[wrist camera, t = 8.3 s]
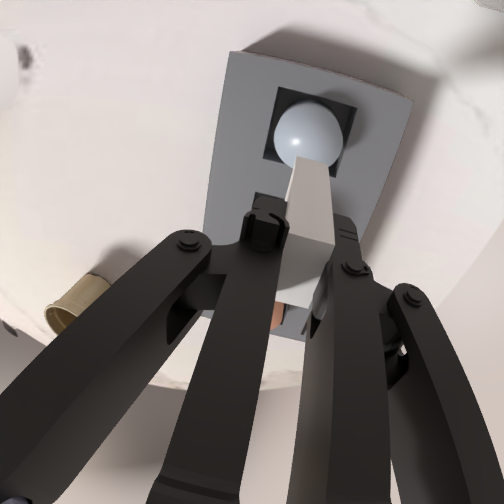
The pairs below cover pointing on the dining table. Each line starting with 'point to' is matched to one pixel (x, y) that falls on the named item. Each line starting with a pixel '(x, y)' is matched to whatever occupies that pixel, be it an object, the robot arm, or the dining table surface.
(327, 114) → the slate key
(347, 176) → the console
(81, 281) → the flower pot
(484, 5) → the wineglass
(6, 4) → the dining table surface
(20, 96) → the dining table surface
